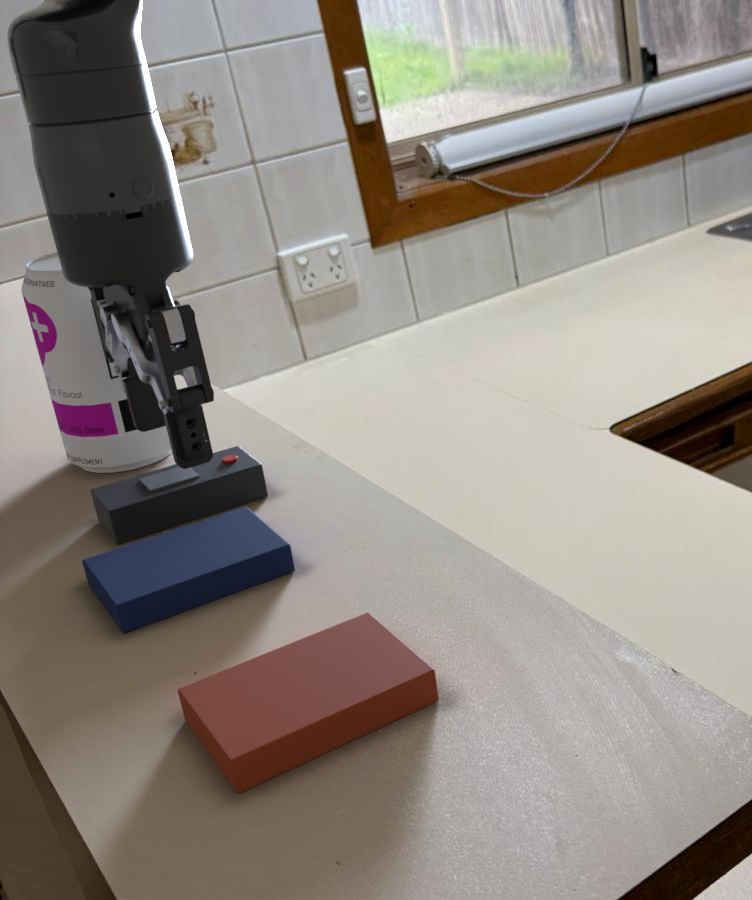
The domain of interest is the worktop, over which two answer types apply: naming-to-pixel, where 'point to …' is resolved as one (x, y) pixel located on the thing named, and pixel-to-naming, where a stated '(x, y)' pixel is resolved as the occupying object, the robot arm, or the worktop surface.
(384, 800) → the worktop surface
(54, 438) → the worktop surface
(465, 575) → the worktop surface
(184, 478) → the remote
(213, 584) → the blue flat block
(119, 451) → the supplement can
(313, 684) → the red rectangular block
